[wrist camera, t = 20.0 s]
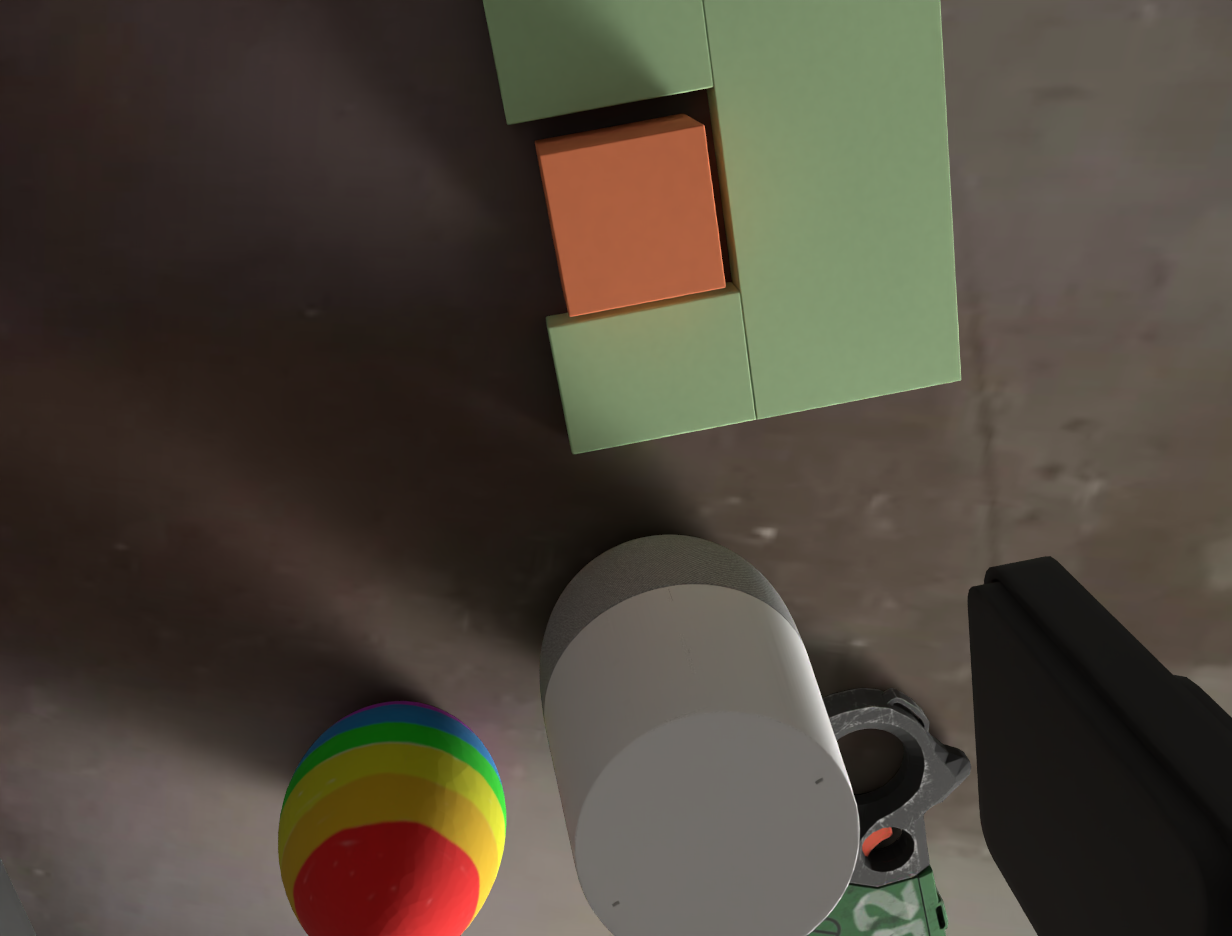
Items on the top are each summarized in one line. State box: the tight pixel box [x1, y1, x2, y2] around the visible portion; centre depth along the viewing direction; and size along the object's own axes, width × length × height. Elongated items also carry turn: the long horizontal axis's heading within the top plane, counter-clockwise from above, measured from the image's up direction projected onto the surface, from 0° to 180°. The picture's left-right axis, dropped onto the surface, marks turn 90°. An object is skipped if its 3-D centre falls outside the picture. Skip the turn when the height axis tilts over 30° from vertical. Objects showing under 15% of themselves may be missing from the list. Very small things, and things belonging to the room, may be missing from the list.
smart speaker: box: [540, 535, 860, 936], centre depth 38 cm, size 10×9×14 cm
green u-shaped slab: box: [483, 0, 961, 454], centre depth 38 cm, size 16×14×2 cm
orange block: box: [535, 113, 726, 317], centre depth 37 cm, size 5×5×4 cm
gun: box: [807, 688, 971, 936], centre depth 49 cm, size 16×1×10 cm
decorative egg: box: [278, 701, 506, 936], centre depth 41 cm, size 8×8×10 cm
